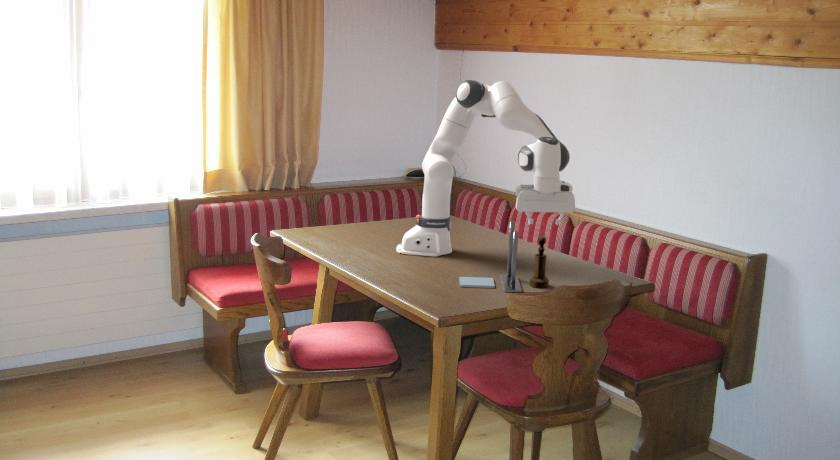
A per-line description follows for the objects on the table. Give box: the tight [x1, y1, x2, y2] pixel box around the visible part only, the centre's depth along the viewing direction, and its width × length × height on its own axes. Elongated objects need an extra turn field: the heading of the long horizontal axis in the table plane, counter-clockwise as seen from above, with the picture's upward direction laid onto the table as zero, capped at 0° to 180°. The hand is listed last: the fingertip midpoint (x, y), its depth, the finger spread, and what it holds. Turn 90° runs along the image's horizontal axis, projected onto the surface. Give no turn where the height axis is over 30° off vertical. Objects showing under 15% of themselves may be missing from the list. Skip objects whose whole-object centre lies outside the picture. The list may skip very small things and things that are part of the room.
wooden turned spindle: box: [529, 235, 550, 289], centre depth 301 cm, size 7×6×18 cm
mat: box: [458, 276, 496, 289], centre depth 303 cm, size 12×10×1 cm
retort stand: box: [499, 221, 523, 294], centre depth 301 cm, size 6×19×21 cm, turn 179°
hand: (544, 224), depth 298 cm, fingers open, 8 cm apart
